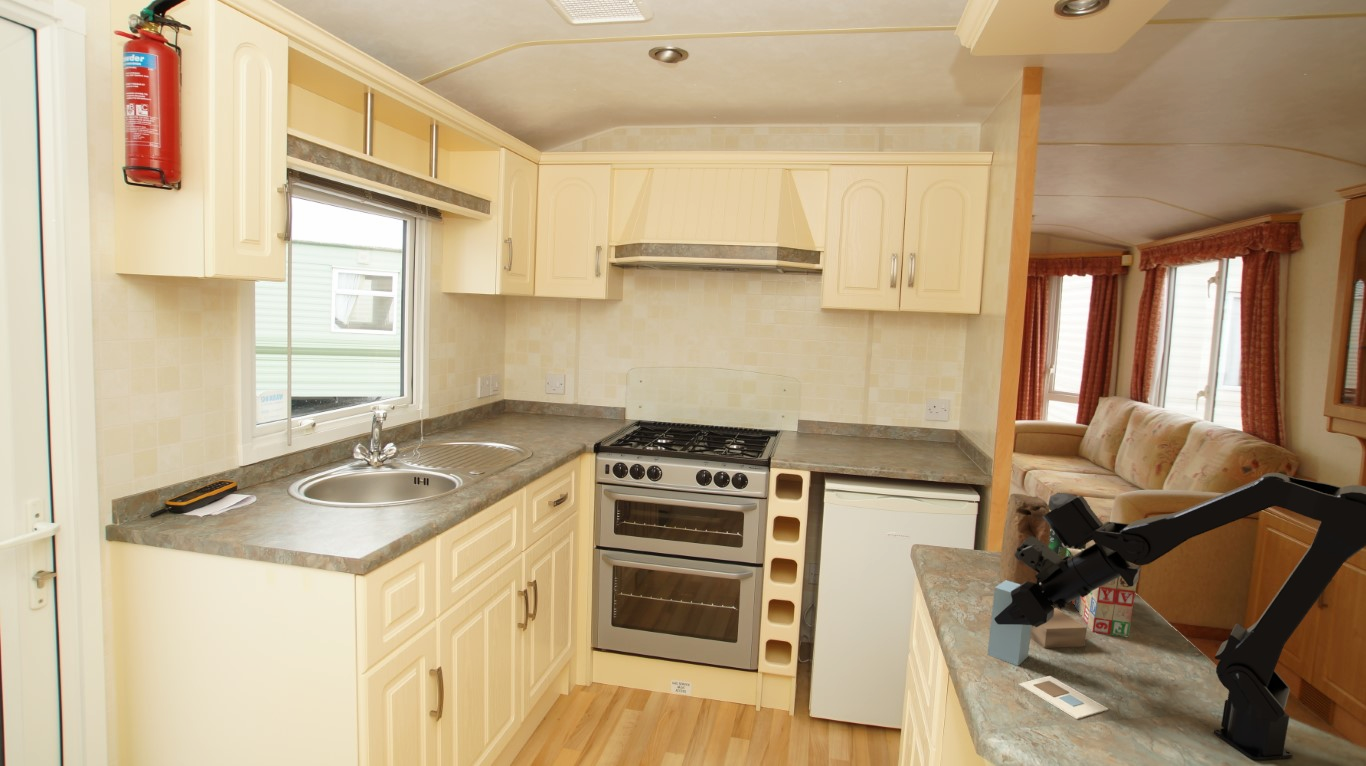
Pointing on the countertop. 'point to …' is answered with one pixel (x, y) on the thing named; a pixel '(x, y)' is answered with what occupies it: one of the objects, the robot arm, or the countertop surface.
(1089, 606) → the stack of blocks
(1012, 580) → the block
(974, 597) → the countertop surface
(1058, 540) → the coffee jar
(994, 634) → the blue brick
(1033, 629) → the walnut base
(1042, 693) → the page
